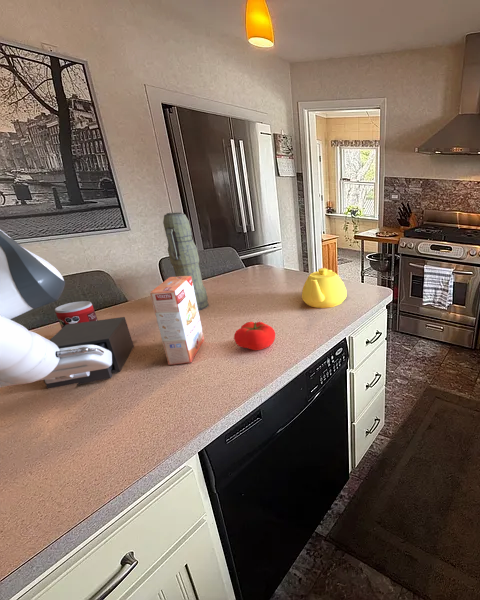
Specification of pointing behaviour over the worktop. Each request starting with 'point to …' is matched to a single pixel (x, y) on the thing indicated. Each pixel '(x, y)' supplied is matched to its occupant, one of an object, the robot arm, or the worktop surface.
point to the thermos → (184, 253)
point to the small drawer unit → (99, 338)
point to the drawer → (84, 375)
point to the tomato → (254, 336)
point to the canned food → (75, 313)
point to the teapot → (323, 289)
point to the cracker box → (178, 319)
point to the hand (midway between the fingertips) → (65, 375)
